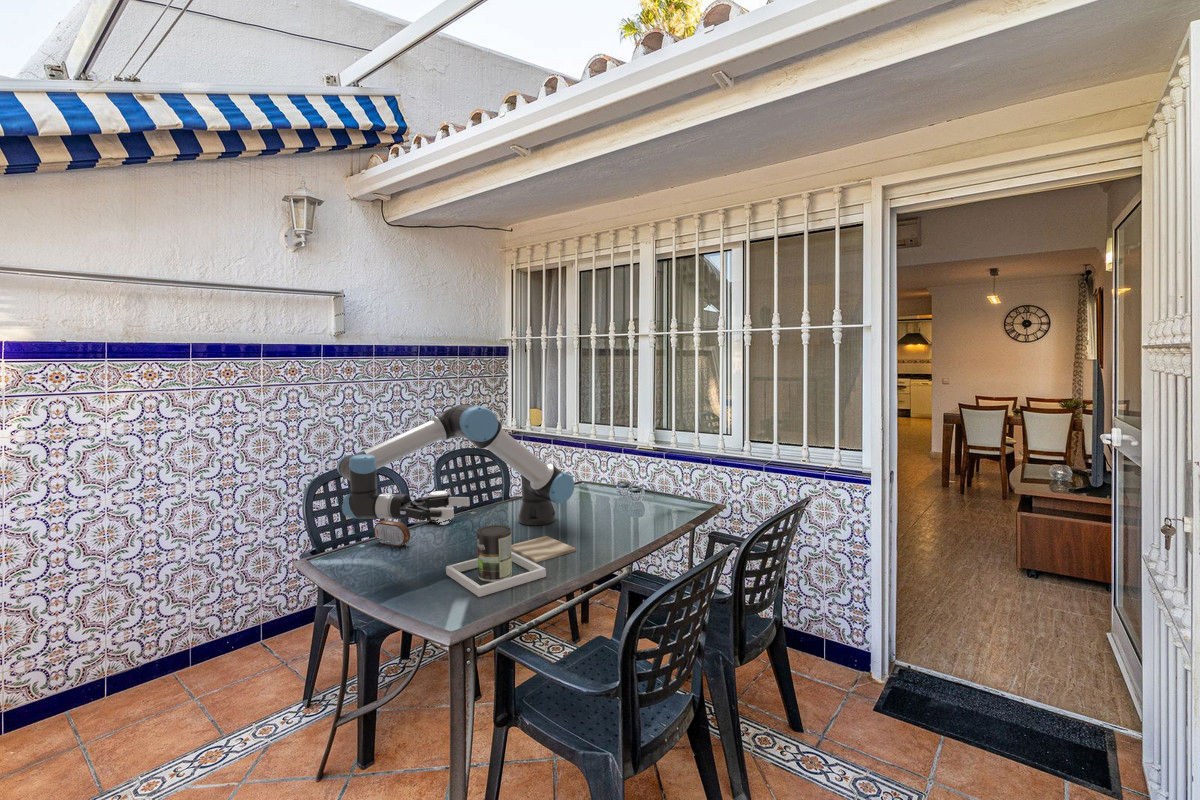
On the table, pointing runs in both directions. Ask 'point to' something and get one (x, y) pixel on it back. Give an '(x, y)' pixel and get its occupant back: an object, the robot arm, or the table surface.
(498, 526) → the coffee can
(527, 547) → the board
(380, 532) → the tin
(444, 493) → the spread jar
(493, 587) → the white square frame
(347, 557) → the table surface
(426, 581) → the table surface
